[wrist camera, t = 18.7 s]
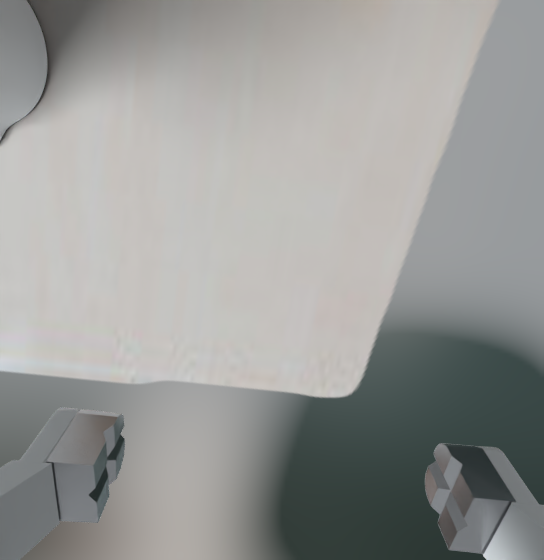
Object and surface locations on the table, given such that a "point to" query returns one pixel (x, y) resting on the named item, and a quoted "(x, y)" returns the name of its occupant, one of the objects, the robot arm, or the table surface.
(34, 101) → the robot arm
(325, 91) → the table surface
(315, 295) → the table surface
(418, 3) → the table surface
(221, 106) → the table surface
